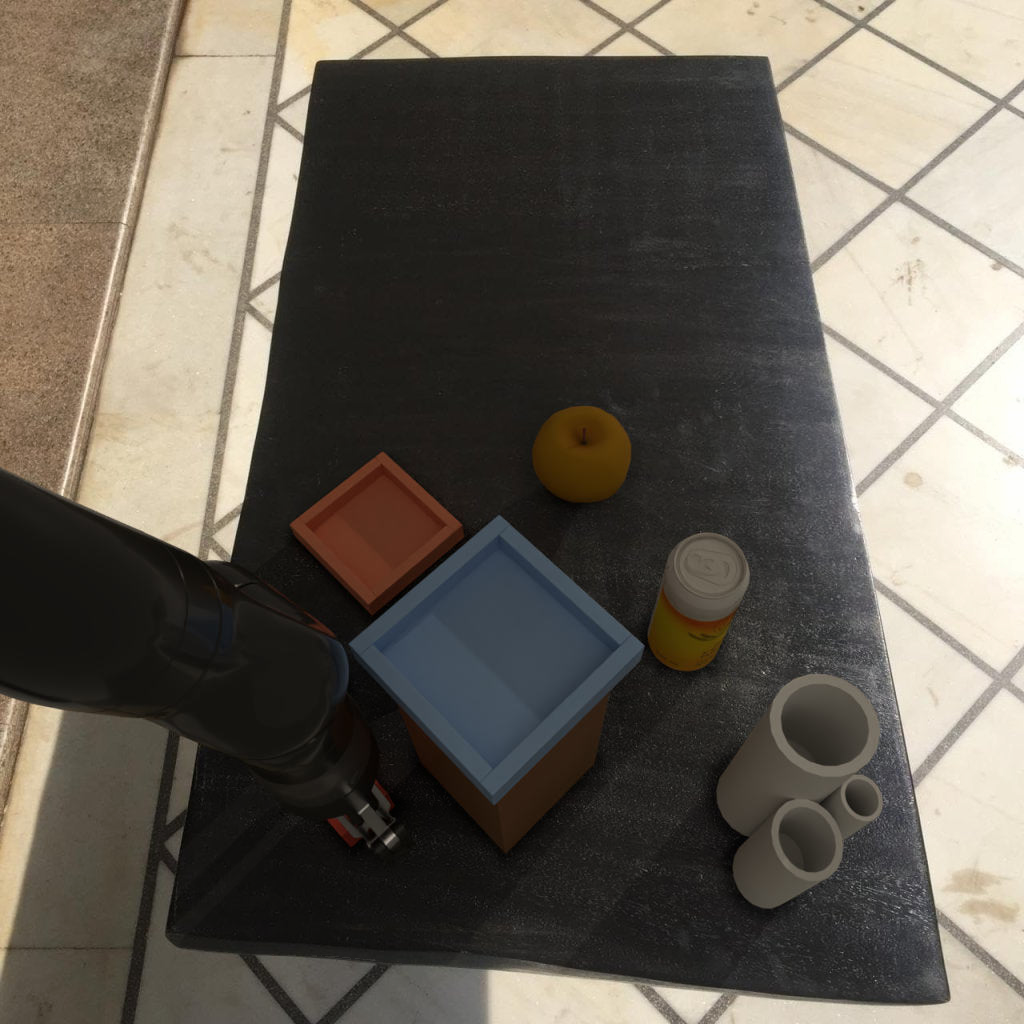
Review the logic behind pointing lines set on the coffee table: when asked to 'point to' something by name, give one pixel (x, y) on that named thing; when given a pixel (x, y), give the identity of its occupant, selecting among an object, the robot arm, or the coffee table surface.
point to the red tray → (377, 532)
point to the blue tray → (500, 677)
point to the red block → (337, 823)
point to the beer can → (697, 600)
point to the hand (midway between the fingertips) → (354, 802)
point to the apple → (582, 454)
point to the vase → (800, 787)
